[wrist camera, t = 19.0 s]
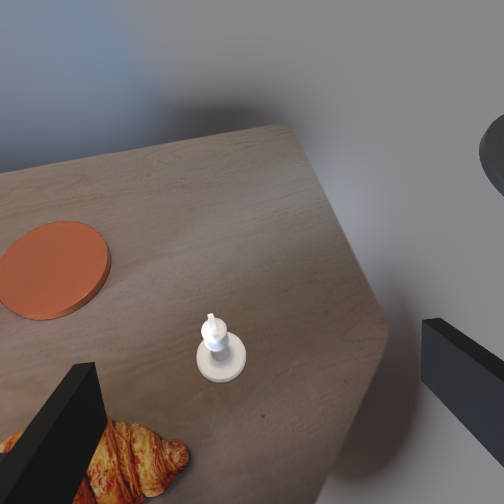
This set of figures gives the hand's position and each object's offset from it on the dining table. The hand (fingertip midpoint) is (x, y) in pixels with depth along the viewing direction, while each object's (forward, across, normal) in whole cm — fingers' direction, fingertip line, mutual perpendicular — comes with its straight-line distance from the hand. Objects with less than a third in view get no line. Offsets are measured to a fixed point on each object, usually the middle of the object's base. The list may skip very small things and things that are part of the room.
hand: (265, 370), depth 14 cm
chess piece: (+19, -3, -10) cm, 22 cm away
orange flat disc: (+28, -21, -2) cm, 35 cm away
